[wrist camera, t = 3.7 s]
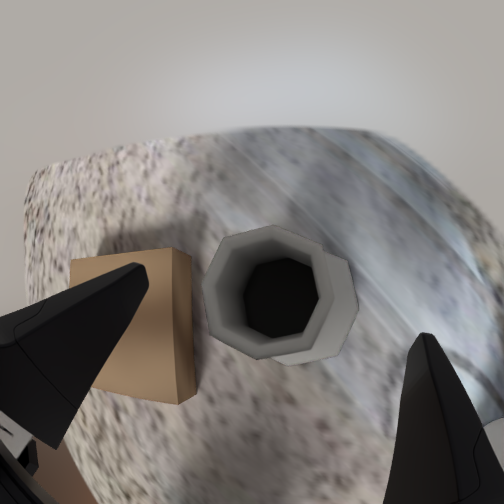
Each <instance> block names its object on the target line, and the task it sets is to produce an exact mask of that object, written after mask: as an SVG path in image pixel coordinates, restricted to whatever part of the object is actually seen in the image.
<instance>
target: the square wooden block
mask: <svg viewBox="0 0 504 504" xmlns="http://www.w3.org/2000/svg"><path fill="white" fill-rule="evenodd" d="M132 262H137V263H140V264H143V265H144V266H145V268H146V272H147V276H148V279H149V289H148V291H147V293H146V294H145V296H144V298H143V300H142V302H141V304H140V306H139V308H138V310H137V311H136V313H135V315H134V317H133V319H132V321H131V323H130V324H129V326H128V328H127V329H126V331H125V332H124V334H123V335H122V337H121V339H120V340H119V342H118V343H117V345H116V347H115V348H114V350H113V351H112V353H111V355H110V356H109V358H108V359H107V361H106V363H105V364H104V366H103V368H102V369H101V371H100V373H99V374H98V376H97V378H96V379H95V381H94V383H93V384H92V386H91V387H93V388H97V389H100V390H104V391H108V392H112V393H117V394H121V395H125V396H130V397H135V398H140V399H145V400H151V401H156V402H162V403H169V404H176V405H179V404H181V403H182V402H184V401H186V400H187V399H189V398H191V397H193V396H194V395H196V394H197V393H196V379H195V364H194V347H193V324H192V286H191V256H190V255H188V254H186V253H184V252H182V251H179V250H177V249H175V248H173V247H169V248H160V249H152V250H144V251H136V252H128V253H120V254H112V255H104V256H96V257H89V258H81V259H73V260H71V266H70V283H69V288H72V287H74V286H76V285H79V284H81V283H83V282H86V281H88V280H90V279H93V278H95V277H98V276H100V275H102V274H105V273H107V272H110V271H112V270H115V269H117V268H119V267H122V266H124V265H127V264H129V263H132Z"/></svg>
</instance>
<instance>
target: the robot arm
mask: <svg viewBox="0 0 504 504" xmlns="http://www.w3.org/2000/svg"><path fill="white" fill-rule="evenodd" d="M148 289H149V279H148V276H147V272H146V268H145V266H144V265H143V264H140V263H137V262H132V263H129V264H127V265H124V266H122V267H119V268H117V269H115V270H112V271H110V272H107V273H105V274H102V275H100V276H98V277H95V278H93V279H90V280H88V281H86V282H83V283H81V284H79V285H76V286H74V287H72V288H69V289H67V290H65V291H62V292H60V293H58V294H55V295H53V296H51V297H49V298H46V299H44V300H42V301H40V302H37V303H35V304H33V305H30V306H28V307H25V308H23V309H20V310H17V311H15V312H12V313H9V314H7V315H4V316H1V317H0V504H59V503H58V502H57V501H56V500H55V499H54V498H53V497H51V496H50V495H49V494H48V493H47V492H46V491H45V490H44V489H43V488H42V487H41V486H40V485H39V484H38V483H37V482H36V481H35V480H34V479H33V478H32V476H33V475H34V473H35V472H36V470H37V469H38V467H39V465H38V459H37V450H36V441H35V440H34V439H33V436H35V437H36V438H38V439H39V440H41V441H42V442H44V443H45V444H47V445H49V446H50V447H52V448H53V449H55V450H57V448H58V447H59V445H60V443H61V441H62V439H63V437H64V435H65V433H66V431H67V430H68V428H69V426H70V424H71V422H72V420H73V418H74V416H75V415H76V413H77V411H78V409H79V407H80V405H81V404H82V402H83V400H84V398H85V397H86V395H87V393H88V391H89V390H90V388H91V386H92V384H93V383H94V381H95V379H96V378H97V376H98V374H99V373H100V371H101V369H102V368H103V366H104V364H105V363H106V361H107V359H108V358H109V356H110V355H111V353H112V351H113V350H114V348H115V347H116V345H117V343H118V342H119V340H120V339H121V337H122V335H123V334H124V332H125V331H126V329H127V328H128V326H129V324H130V323H131V321H132V319H133V317H134V315H135V313H136V311H137V310H138V308H139V306H140V304H141V302H142V300H143V298H144V296H145V294H146V293H147V291H148ZM383 504H504V471H503V469H502V467H501V465H500V463H499V460H498V458H497V456H496V454H495V452H494V450H493V448H492V445H491V443H490V441H489V439H488V437H487V434H486V432H485V430H484V427H482V423H481V421H480V419H479V417H478V414H477V412H476V410H475V408H474V406H473V404H472V402H471V400H470V398H469V396H468V394H467V392H466V390H465V388H464V386H463V385H462V383H461V381H460V379H459V377H458V375H457V374H456V372H455V370H454V368H453V366H452V365H451V363H450V361H449V359H448V358H447V356H446V354H445V353H444V351H443V349H442V348H441V346H440V344H439V343H438V341H437V339H436V338H435V336H434V335H433V334H430V333H424V332H422V333H420V334H419V335H418V337H417V338H416V340H415V342H414V343H413V345H412V346H411V348H410V350H409V352H408V356H407V363H406V370H405V376H404V382H403V388H402V394H401V400H400V408H399V418H398V427H397V434H396V441H395V448H394V454H393V460H392V465H391V470H390V475H389V480H388V484H387V489H386V493H385V497H384V501H383Z"/></svg>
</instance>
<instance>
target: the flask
mask: <svg viewBox="0 0 504 504" xmlns="http://www.w3.org/2000/svg"><path fill="white" fill-rule="evenodd" d="M201 287H202V293H203V299H204V305H205V311H206V317H207V322H208V328H209V333H210V336H212V337H214V338H216V339H218V340H219V341H221V342H223V343H225V344H227V345H229V346H230V347H232V348H234V349H236V350H238V351H240V352H242V353H244V354H246V355H248V356H250V357H252V358H254V359H256V360H259V359H265V358H272V359H274V360H276V361H278V362H280V363H282V364H284V365H286V366H293V365H298V364H303V363H308V362H313V361H317V360H322V359H326V358H331V357H335V356H338V354H339V352H340V350H341V348H342V346H343V344H344V342H345V340H346V338H347V335H348V333H349V331H350V329H351V327H352V325H353V322H354V320H355V318H356V316H357V313H358V311H359V307H358V302H357V298H356V293H355V289H354V285H353V281H352V276H351V272H350V268H349V264H348V261H347V260H344V259H342V258H340V257H337V256H335V255H333V254H330V253H328V252H325V251H324V250H323V246H322V244H319V243H317V242H314V241H312V240H310V239H307V238H305V237H302V236H300V235H297V234H295V233H292V232H290V231H287V230H285V229H282V228H280V227H277V226H275V225H270V226H266V227H262V228H258V229H255V230H251V231H247V232H243V233H239V234H235V235H232V236H228V237H224V238H223V239H222V241H221V243H220V245H219V247H218V250H217V252H216V254H215V256H214V258H213V260H212V262H211V264H210V266H209V268H208V271H207V273H206V275H205V277H204V279H203V281H202V283H201Z"/></svg>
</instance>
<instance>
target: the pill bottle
mask: <svg viewBox="0 0 504 504" xmlns="http://www.w3.org/2000/svg"><path fill="white" fill-rule="evenodd" d="M484 430H485V432H486V434H487V437H488V439H489V441H490V443H491V445H492V448H493V450H494V452H495V454H496V456H497V458H498V460H499V463H500V465H501V467H502V469H503V471H504V418H500V419H497V420H495V421H493V422H491V423H489V424H487V425H486V426H484Z"/></svg>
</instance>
